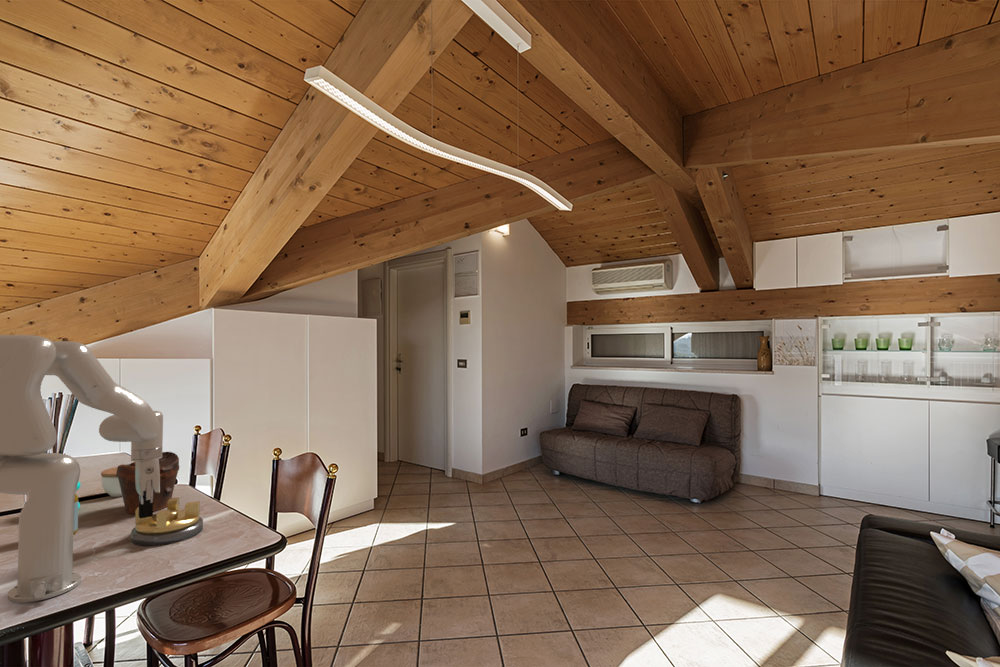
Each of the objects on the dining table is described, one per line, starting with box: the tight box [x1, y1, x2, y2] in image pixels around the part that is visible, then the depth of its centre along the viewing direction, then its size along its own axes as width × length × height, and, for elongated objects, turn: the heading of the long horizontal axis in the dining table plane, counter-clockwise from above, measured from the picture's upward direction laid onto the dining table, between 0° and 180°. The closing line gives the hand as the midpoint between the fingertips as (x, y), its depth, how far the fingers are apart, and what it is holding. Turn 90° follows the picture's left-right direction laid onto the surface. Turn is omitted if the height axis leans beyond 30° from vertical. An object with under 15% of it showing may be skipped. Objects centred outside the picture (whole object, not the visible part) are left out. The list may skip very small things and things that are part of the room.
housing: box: [130, 516, 204, 547], centre depth 150 cm, size 18×18×6 cm
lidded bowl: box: [100, 463, 125, 498], centre depth 189 cm, size 13×13×11 cm
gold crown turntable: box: [134, 496, 201, 535], centre depth 150 cm, size 16×16×6 cm
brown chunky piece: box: [116, 451, 180, 515], centre depth 173 cm, size 18×20×18 cm
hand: (145, 516), depth 145 cm, fingers closed
